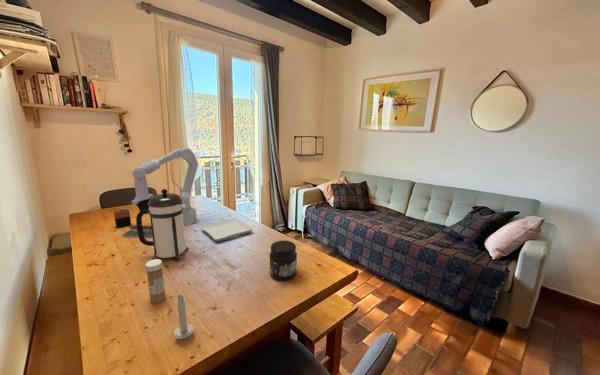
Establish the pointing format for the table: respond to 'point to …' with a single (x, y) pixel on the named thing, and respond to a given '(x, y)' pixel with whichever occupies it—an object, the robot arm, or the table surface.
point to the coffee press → (164, 225)
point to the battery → (122, 218)
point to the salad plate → (226, 229)
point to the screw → (183, 322)
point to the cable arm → (146, 227)
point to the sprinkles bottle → (155, 280)
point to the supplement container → (283, 260)
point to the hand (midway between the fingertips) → (144, 213)
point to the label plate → (135, 233)
